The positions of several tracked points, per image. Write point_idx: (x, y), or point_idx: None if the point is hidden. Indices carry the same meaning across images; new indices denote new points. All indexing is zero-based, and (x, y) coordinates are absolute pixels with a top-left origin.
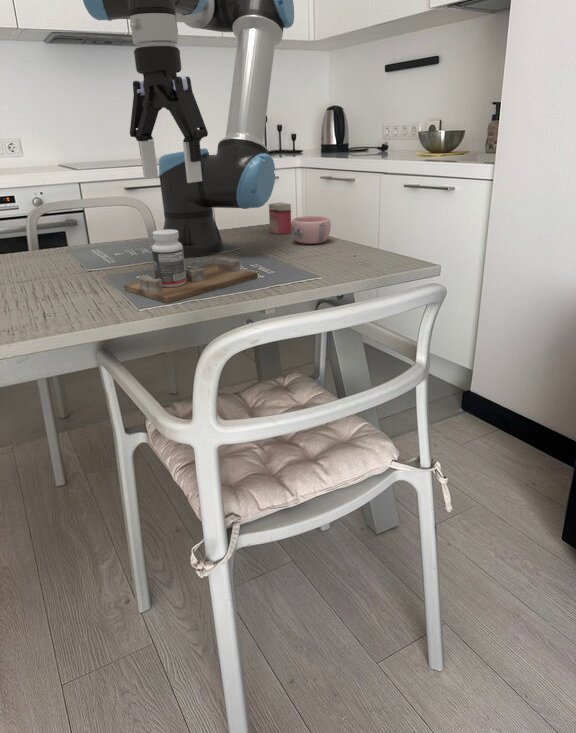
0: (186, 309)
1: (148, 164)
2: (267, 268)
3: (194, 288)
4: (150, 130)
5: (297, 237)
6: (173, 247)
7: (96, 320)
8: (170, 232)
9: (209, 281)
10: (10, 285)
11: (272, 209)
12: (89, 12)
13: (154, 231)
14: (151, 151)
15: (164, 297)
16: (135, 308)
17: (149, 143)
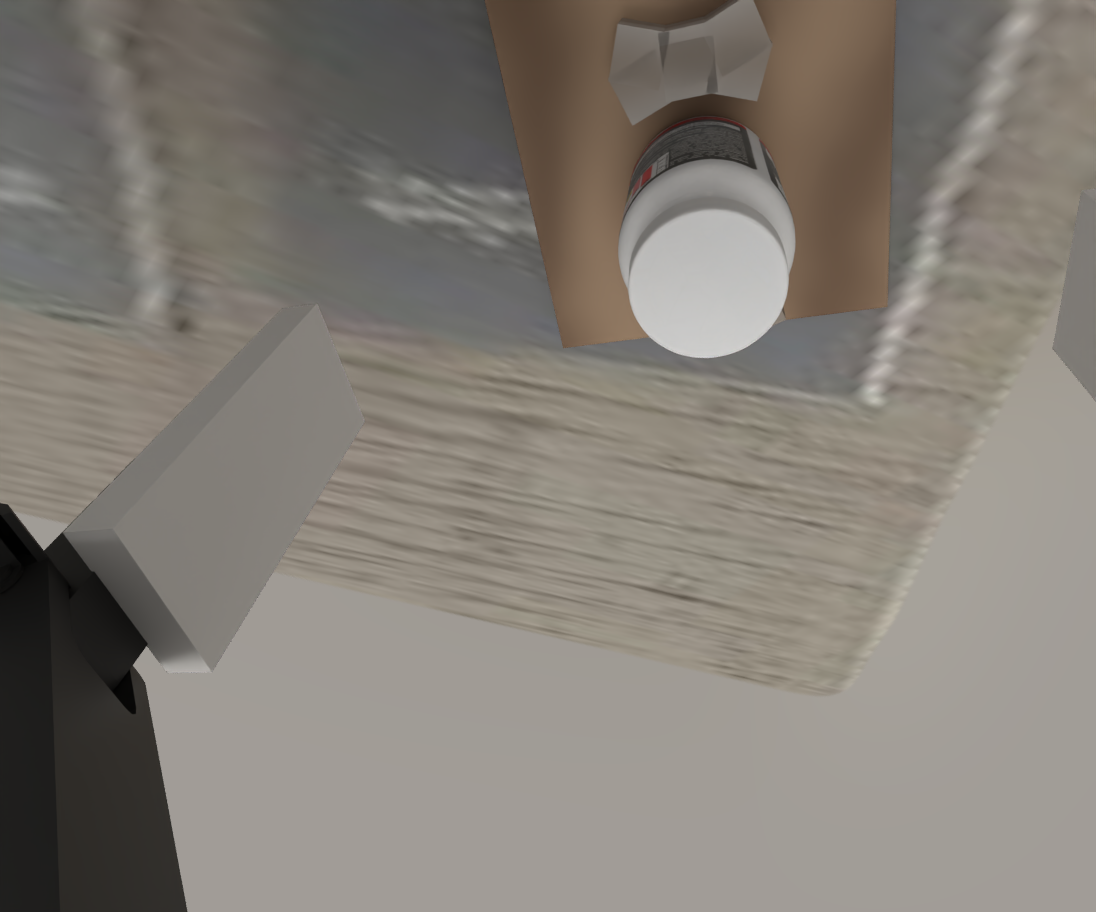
0: (1026, 275)
1: (304, 454)
2: None
3: (864, 139)
4: (76, 679)
5: None
6: (792, 257)
7: (846, 528)
8: (758, 277)
9: (815, 2)
10: None
11: None
12: None
13: (650, 331)
14: (213, 483)
15: (871, 307)
16: (833, 403)
17: (167, 559)
